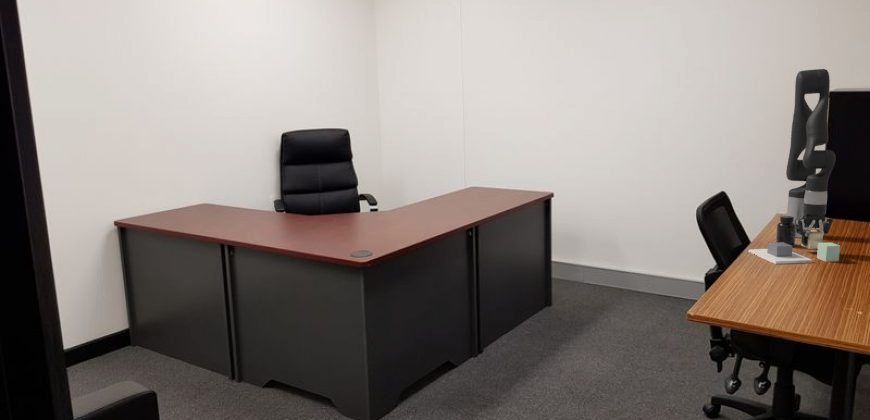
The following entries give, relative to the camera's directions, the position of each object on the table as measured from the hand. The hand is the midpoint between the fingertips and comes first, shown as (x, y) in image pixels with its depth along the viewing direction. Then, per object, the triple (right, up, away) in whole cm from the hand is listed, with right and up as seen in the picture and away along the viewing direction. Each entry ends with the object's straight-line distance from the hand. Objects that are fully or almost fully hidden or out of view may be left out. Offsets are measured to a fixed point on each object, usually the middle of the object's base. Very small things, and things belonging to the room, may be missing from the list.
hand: (811, 244), depth 241 cm
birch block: (0, -1, 0) cm, 1 cm away
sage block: (0, -5, -9) cm, 11 cm away
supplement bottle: (-3, -1, +13) cm, 13 cm away
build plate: (-15, -5, -4) cm, 16 cm away
